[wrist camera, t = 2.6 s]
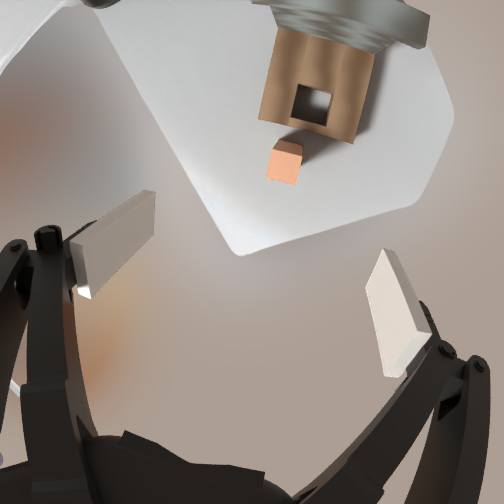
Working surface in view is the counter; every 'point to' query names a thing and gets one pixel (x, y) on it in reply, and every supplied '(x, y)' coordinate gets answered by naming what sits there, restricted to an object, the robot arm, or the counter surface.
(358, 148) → the counter surface
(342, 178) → the counter surface
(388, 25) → the socket stand
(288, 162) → the peg
